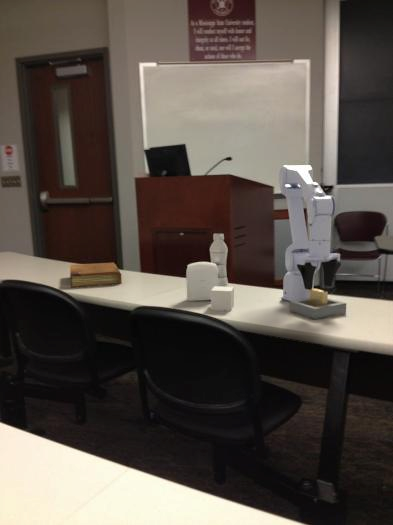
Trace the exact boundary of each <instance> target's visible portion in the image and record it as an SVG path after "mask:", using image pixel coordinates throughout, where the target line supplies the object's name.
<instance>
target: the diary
mask: <svg viewBox="0 0 393 525" xmlns="http://www.w3.org/2000/svg"><path fill="white" fill-rule="evenodd" d="M69 270H70V271H69V272H70V273H69V277H70V288H71V289H73V288H88V287H87V286H91V287H99V286H98V285H107V286H113V285H112V284H121V285H122V273H121V271H120V269H119V268H118V266H117V264H115V262H100V263H81V264H80V263H79V264H70V267H69Z"/></svg>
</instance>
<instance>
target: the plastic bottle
mask: <svg viewBox="0 0 393 525" xmlns="http://www.w3.org/2000/svg"><path fill="white" fill-rule="evenodd" d="M224 240H225V236H224V233H213V242H211V245H210V247H209V255H210V263H214V264H216V266H217V269H218V286H221V287H228V285H229V280H228V277H227V258H228V252H229V250H228V246H227V244H226V243H225V241H224Z"/></svg>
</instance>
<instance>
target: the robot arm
mask: <svg viewBox="0 0 393 525" xmlns="http://www.w3.org/2000/svg"><path fill="white" fill-rule="evenodd" d="M278 172H279V173H278V182H279V190H280V194H282V195H283V196H285V199H286V204H287V210H288V217H289V226H290V233H291V240H292V243H291V244H290V245H289V246H287V248H286V249H285V252H284V255H285V258H284V261H285V262H284V265H285V269H286V271H287V272H286V273H285V275H284V276H283V282H282V286H283V290H282V296H281V297H280V299H281V300H286V301H289V302H290V301H296V300H301V299H307V298H309V295H310V290H312V289H315V288H314V286H315V285H314V283H315V282H314V281H315V275H316V274H317V272H318V271H319V269H320V268H321V265H322V270H323V283H324V286H326V287H332V285H333V282H334V279H335V276H336V274H337V271H338V270H339V268H340V267H341V264H342V263H341V254H340V253H338V252H335V253H331V241H332V240H331V238H332V237H331V234H332V233H331V232H332V217H334V216H335V213H336V205H337V204H336V200H335V198H334V196H333V195H326V193H325V192H324V189H322V187H321V186H320V184H319V183H318V182H314V180H313V179H314V169H313V167H312V166H311V165H309V164H307V165H284V164H283V165H282V166H280V168H279V171H278ZM303 200H304V202H305V204H306V211H307V212H306V213H307V219H308V220H307V222H308V224H309V236H308V231H307V225H306V224H307V223H306V218H305V212H304V204H303ZM308 237H309V238H308Z"/></svg>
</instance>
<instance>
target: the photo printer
mask: <svg viewBox="0 0 393 525" xmlns="http://www.w3.org/2000/svg"><path fill="white" fill-rule="evenodd" d="M186 267H187V268H186V272H185V273H186V274H185V278H186V300H187V301H189V302H194V301H195V302H196V301H197V302H199V301H211V290H212V289H213V287H214V286H218V269H217V266H216V264H214V263H211V261H210V262H209V261H198V262H191V263H189V264H187V266H186Z"/></svg>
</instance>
